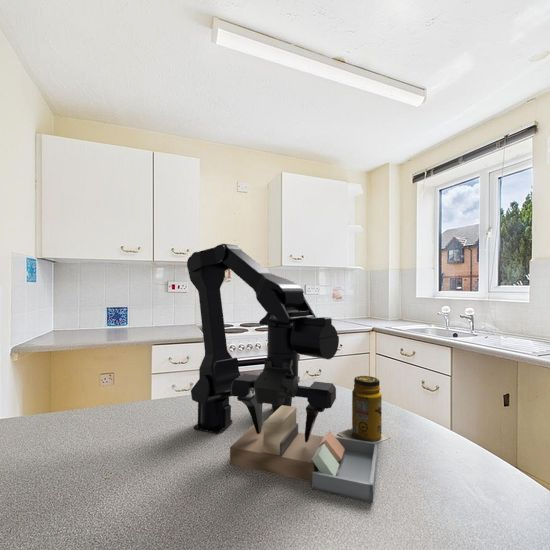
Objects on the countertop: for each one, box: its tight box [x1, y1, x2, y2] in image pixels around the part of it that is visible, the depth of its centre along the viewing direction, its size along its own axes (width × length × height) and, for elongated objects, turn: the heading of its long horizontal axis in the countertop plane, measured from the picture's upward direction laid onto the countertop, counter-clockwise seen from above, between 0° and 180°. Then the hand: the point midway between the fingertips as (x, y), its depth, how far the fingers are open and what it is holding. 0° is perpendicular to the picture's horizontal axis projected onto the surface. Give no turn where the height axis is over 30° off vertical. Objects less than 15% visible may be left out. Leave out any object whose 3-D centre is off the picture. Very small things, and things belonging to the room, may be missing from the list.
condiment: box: [336, 375, 391, 444], centre depth 70 cm, size 7×8×12 cm
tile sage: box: [312, 444, 339, 476], centre depth 55 cm, size 4×4×2 cm
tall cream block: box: [263, 405, 299, 456], centre depth 61 cm, size 3×9×5 cm, turn 158°
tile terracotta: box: [320, 430, 345, 462], centre depth 60 cm, size 4×4×2 cm
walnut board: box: [229, 424, 324, 483], centre depth 61 cm, size 15×10×3 cm, turn 70°
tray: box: [311, 435, 379, 504], centre depth 56 cm, size 9×14×2 cm, turn 160°
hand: (282, 437), depth 61 cm, fingers open, 9 cm apart
